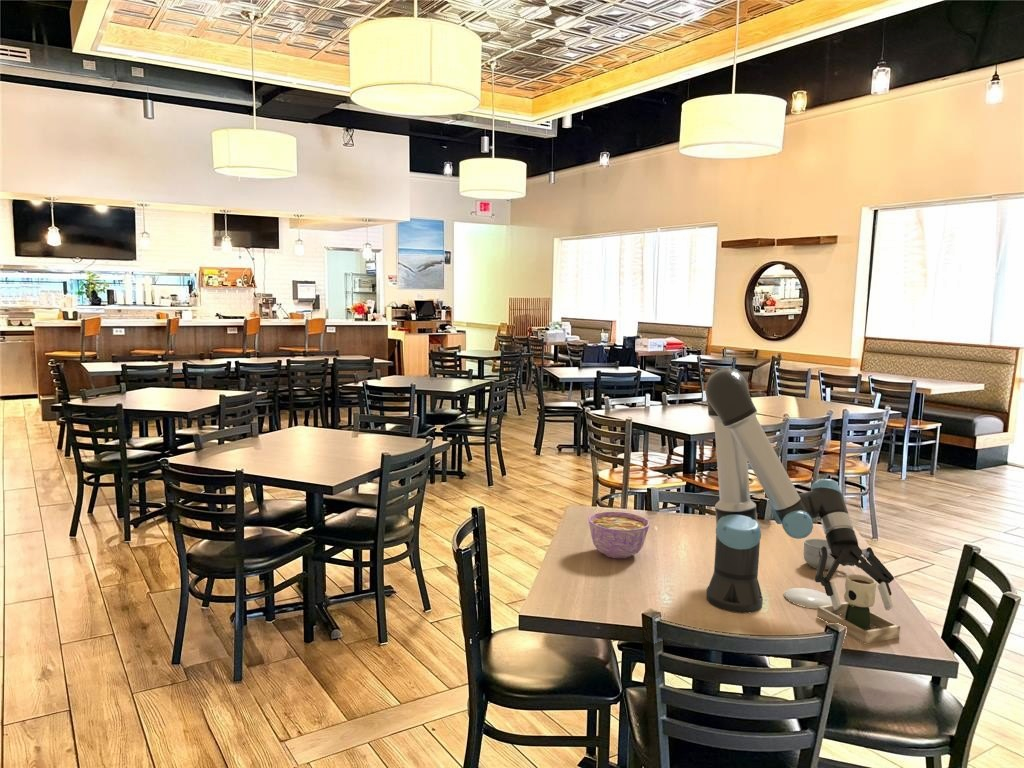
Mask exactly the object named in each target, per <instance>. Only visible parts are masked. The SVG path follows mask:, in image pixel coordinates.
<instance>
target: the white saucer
mask: <svg viewBox="0 0 1024 768" xmlns="http://www.w3.org/2000/svg"><path fill="white" fill-rule="evenodd" d="M784 595H785V596H784ZM783 596H784V598H785V597H786V598H787V599H788V600H790V601H791V602H794V603H795V604H794V603H793V604H794V605H796V604H799V605H802V606H805V607H804V608H806V607H809V608H808V609H813V608H816V609H815V610H818V607H820V606H826V605H832V601H831V598H830V596H827V594H826V592H822V591H820V590H816V589H813V588H808V587H807V588H805V587H792V588H788V589H786V590H785V591H784V594H783ZM786 598H785V599H786ZM787 599H786V600H787ZM788 600H787V601H788ZM790 601H789V602H790ZM791 602H790V603H791ZM799 605H798V606H799ZM802 606H801V607H802Z"/></svg>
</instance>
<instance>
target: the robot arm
mask: <svg viewBox="0 0 1024 768" xmlns="http://www.w3.org/2000/svg"><path fill="white" fill-rule="evenodd" d="M704 392H705V397H706V400H707V401H706V403H707V410H708V411H707V415H708V417H709V418H711V419H712V420H713V423H714V436H715V438H714V439H715V451H716V452H715V453H716V464H717V465H716V466H717V467H716V468H717V477H718V478H717V479H718V495H719V500H718V501H717V502H716V503H715V505H714V508H715V509H714V510H715V511H714V513H715V524H716V526H715V534H716V535H715V546H714V547H715V551H714V563H713V564H714V566H713V568H714V569H713V574H712V577H711V578H710V582H709V584H708V585H707V588H706V593H705V599H706V601H707V602H708V603H709V604H710V605H712V606H713V607H715V608H716V609H720V610H723V611H726V612H731V613H736V612H737V613H738V614H750V613H749V612H751V613H755V611H756V612H757V611H758V612H759V611H760V610H761V609H762V608H763V604H764V602H763V599H764V598H763V594H762V590H761V586H760V583H759V579H758V577H759V575H758V574H759V573H758V572H759V564H760V563H759V560H760V548H761V547H760V546H761V539H762V531H761V525H760V524H759V522H758V514H757V504H756V502H754V501H753V500H751V491H750V480H749V479H750V477H749V466H750V467H751V470H752V471H753V472H754V475H755V477H756V478H757V480H758V482H759V484H760V485H761V488H762V490H763V491H764V493H765V494H766V496H767V499H768V500H769V502H770V508H771V511H772V515H773V518H774V521H775V524H776V525H781V527H782V529H783V530H784V531H785V533H786V535H788V536H789V537H790V538H793V539H797V540H800V539H806V538H807V537H808V536H810V535H811V533H812V532H813V529H814V520H813V519H815V518H819V520H820V523H821V525H822V529H823V532H824V534H825V540H827V543H828V546H829V548H830V549H827V548H826V547H822V548H821V549H820V550H819V556H820V559H819V563H818V568H816V573H815V576H814V577H815V578H814V582H815V583H820V585H821V586H822V587H824V592H825V594H827V596H830V598H831V601H832V605H833V608H834V610H837V609H838V608H839V607H841V604H840V603H841V601H840V597H839V594H838V591H837V588H836V585H835V581H831V580H832V578H833V577H834V575H835V573H836V571H837V570H838V568H839V566H840V565H841V566H843V567H845V566H850V567H854V566H856V567H857V568H858V569H861V570H862V571H863V572H865V573H866V574H867V575H868V577H870V578H872V579H874V580H875V581H876V583H878V584H879V585H877V590H878V592H879V595H880V598H881V600H882V603H883V607H884V609H885V611H889V610H891V609H893V608H894V605H893V604H894V603H893V602H892V599H891V596H892V591H891V588H890V585H889V584H890V583H891V582H893V581H894V580H895V577H894V576H893V574H891V571H889V570H888V569H887V567H886V566H885V565H884V564H883V563H882V562H881V561H880V559H879V558H878V557H877V556H876V555H875V553H874V551H873V549H872V548H871V547H870V546H868V547H866V548H865V549H863V548H862V549H861V548H860V546H859V541H858V537H857V535H856V532H855V530H854V525H853V523H852V520H851V517H850V515H849V511H848V508H847V505H846V501H845V498H844V496H843V493H842V491H841V487H840V486H839V484H838V482H837V481H836V480H834V479H831V478H823V479H819V480H818V481H815V482H813V483H812V484H811V485H810V490H809V491H805V492H801V493H799V492H798V491H797V489H796V487H795V485H794V484H793V482H792V479H791V478H790V476H789V474H788V472H787V470H786V469H785V467H784V465H783V463H782V462H781V460H780V458H779V456H778V454H777V452H776V451H775V449H774V447H773V445H772V443H771V441H770V440H769V438H768V437H767V434H766V432H765V430H764V428H763V427H762V426H761V423H760V422H759V420H758V417H757V413H758V409H757V408H756V406H755V404H754V402H753V400H752V396H751V394H750V390H749V382H748V379H747V377H746V375H745V374H744V373H743V372H742V371H741V370H739V369H736V368H734V367H721V368H717V369H716V370H714V371H713V372H712V373H711V374H710V375H709V376H708V378H707V380H706V386H705V389H704ZM829 554H830V555H831V556H832V557H833V558H834V559H835V560H834V562H833V563H832V566H831V567H830V569H828V571H827V573H826V574H825V566H826V561H827V557H828V556H829ZM824 574H825V576H824ZM759 609H760V610H759Z"/></svg>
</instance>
